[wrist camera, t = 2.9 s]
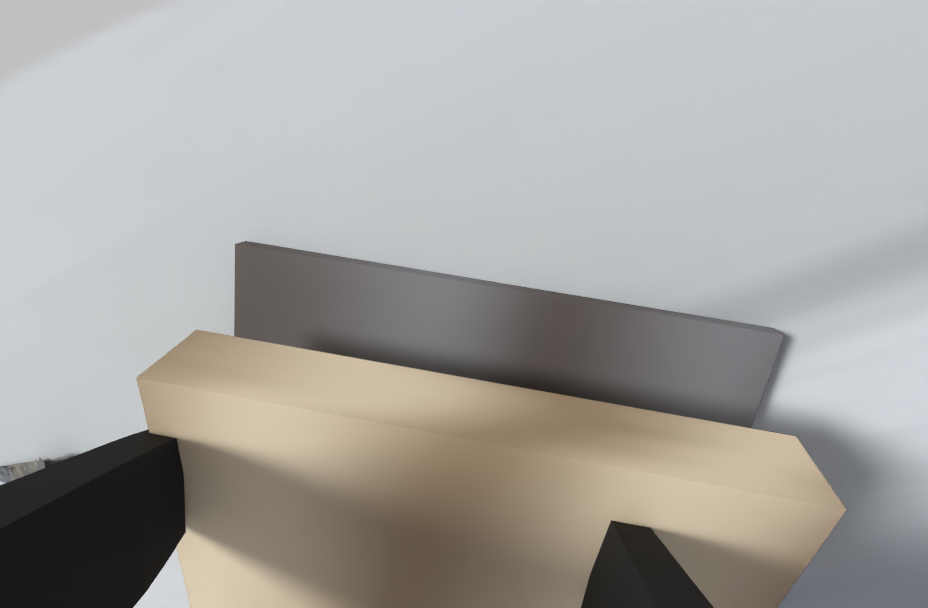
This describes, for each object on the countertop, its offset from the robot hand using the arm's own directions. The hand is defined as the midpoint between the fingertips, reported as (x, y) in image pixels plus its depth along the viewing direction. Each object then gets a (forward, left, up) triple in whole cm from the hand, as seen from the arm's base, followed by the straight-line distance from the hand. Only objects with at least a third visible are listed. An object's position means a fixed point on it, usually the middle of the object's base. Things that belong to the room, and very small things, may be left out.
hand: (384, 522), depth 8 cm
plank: (-1, +1, -2) cm, 3 cm away
